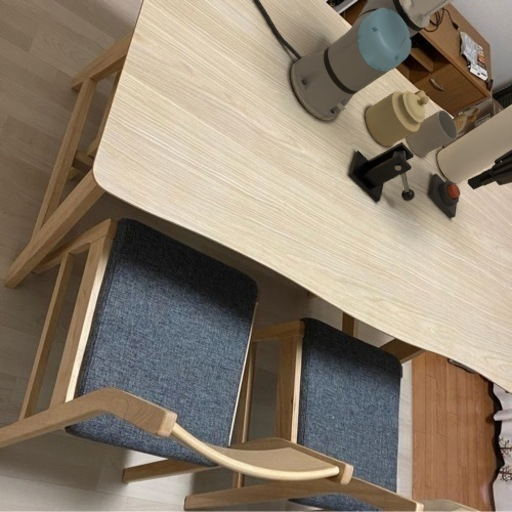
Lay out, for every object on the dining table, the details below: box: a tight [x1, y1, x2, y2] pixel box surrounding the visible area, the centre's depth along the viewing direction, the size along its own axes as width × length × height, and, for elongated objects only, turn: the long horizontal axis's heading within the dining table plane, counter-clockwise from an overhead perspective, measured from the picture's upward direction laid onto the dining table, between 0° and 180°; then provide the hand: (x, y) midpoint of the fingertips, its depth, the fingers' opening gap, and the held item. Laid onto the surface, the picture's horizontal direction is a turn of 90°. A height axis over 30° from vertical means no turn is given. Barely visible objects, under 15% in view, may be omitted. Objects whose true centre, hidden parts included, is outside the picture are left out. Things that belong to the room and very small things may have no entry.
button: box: [447, 183, 461, 199], centre depth 152 cm, size 4×4×2 cm
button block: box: [427, 172, 460, 219], centre depth 153 cm, size 10×8×4 cm
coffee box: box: [442, 96, 505, 149], centre depth 163 cm, size 9×6×16 cm
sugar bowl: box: [365, 89, 431, 147], centre depth 141 cm, size 15×11×15 cm
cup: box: [406, 109, 457, 157], centre depth 152 cm, size 8×8×10 cm
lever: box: [393, 151, 415, 202], centre depth 131 cm, size 14×3×3 cm, turn 68°
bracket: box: [347, 141, 415, 203], centre depth 130 cm, size 10×8×12 cm
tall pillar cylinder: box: [436, 104, 512, 185], centre depth 153 cm, size 11×11×25 cm
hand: (470, 184), depth 148 cm, fingers closed
